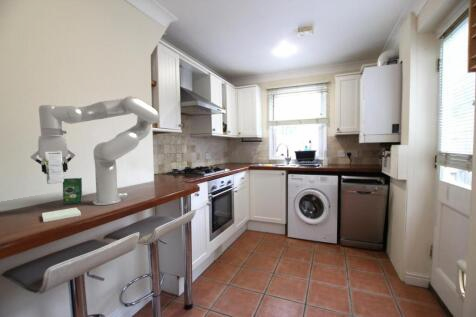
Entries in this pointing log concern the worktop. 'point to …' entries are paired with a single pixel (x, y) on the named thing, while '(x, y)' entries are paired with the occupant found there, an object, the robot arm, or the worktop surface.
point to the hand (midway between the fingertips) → (55, 172)
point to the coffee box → (72, 190)
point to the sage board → (60, 214)
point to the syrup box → (54, 167)
